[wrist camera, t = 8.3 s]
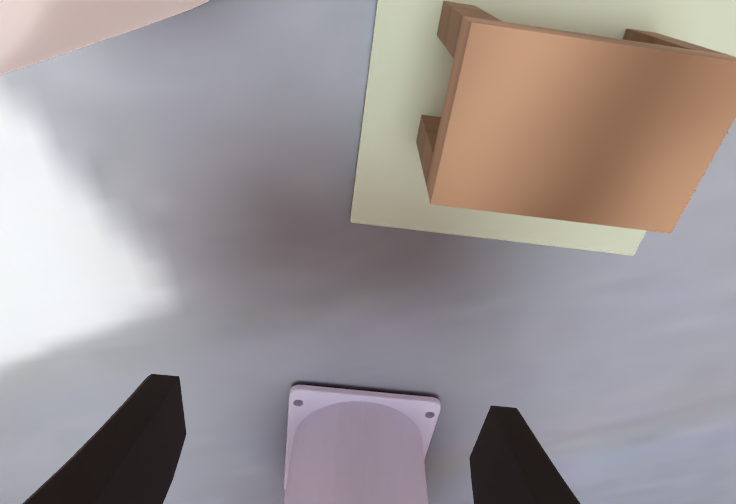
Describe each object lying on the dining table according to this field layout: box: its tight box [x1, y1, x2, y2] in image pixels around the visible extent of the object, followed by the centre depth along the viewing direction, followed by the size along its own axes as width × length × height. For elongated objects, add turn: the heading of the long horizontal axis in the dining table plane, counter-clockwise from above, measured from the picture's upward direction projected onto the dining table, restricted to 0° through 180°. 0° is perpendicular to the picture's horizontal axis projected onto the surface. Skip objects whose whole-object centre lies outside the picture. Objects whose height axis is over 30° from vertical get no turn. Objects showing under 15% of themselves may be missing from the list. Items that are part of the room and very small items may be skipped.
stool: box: [416, 1, 736, 233], centre depth 14 cm, size 7×5×5 cm, turn 83°
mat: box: [350, 0, 736, 256], centre depth 16 cm, size 12×12×1 cm
